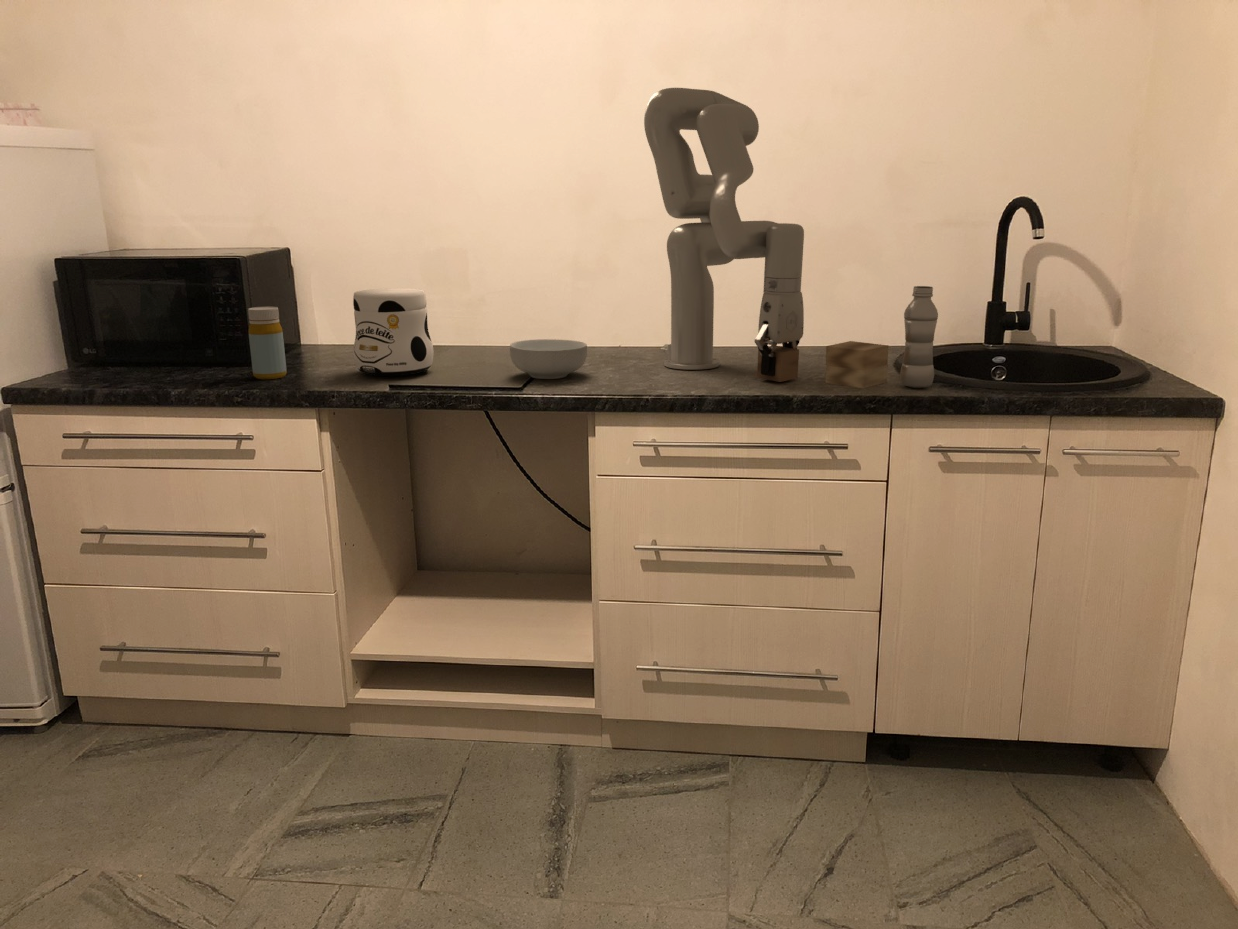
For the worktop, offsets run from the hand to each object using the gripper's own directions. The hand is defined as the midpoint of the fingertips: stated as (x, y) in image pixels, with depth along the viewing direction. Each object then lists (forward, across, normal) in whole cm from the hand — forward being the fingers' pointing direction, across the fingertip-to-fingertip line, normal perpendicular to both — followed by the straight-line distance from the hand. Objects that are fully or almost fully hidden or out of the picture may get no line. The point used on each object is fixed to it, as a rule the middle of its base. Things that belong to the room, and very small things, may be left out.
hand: (777, 372), depth 206 cm
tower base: (+2, +10, -13) cm, 16 cm away
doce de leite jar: (+4, -49, +68) cm, 84 cm away
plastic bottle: (+1, +13, -25) cm, 28 cm away
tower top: (-2, +10, -13) cm, 16 cm away
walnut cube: (+1, 0, 0) cm, 1 cm away
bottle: (+4, -70, +85) cm, 110 cm away
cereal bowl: (+3, -28, +40) cm, 49 cm away
